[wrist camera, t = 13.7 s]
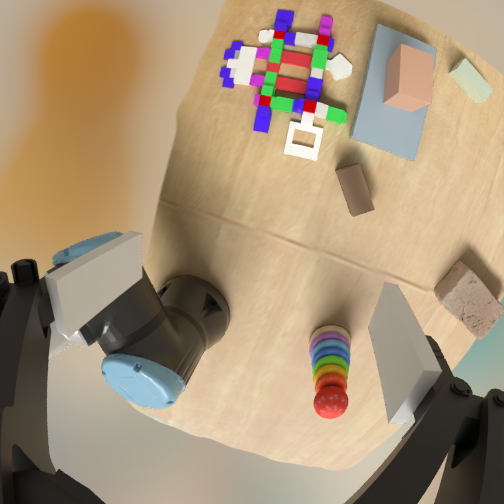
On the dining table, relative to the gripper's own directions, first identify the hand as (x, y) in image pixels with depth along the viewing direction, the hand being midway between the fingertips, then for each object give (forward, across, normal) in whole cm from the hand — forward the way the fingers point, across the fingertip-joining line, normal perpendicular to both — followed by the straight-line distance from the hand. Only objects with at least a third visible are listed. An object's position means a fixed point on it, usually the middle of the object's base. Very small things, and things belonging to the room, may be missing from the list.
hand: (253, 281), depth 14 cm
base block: (+32, +13, +20) cm, 40 cm away
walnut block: (+32, +9, +3) cm, 33 cm away
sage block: (+32, +27, +27) cm, 50 cm away
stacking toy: (+32, +12, -25) cm, 42 cm away
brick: (+32, +38, -11) cm, 51 cm away
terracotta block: (+28, +13, +20) cm, 37 cm away
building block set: (+32, -4, +19) cm, 38 cm away
